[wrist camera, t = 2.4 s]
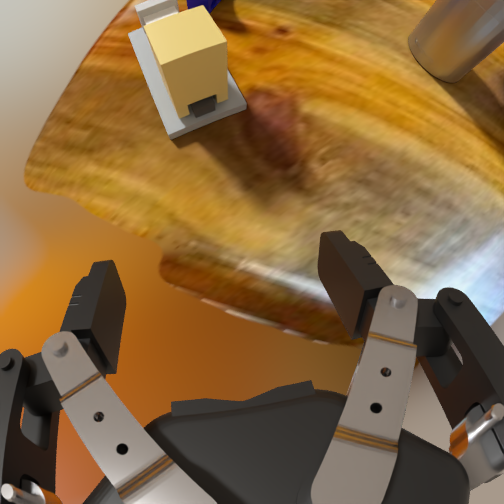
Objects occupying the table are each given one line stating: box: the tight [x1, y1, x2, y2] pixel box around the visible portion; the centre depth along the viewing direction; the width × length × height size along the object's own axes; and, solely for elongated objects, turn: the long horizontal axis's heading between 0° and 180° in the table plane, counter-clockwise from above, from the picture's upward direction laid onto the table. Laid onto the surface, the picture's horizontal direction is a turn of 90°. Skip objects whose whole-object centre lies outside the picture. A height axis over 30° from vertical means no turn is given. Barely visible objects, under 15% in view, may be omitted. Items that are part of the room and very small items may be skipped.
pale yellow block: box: [144, 5, 228, 119], centre depth 23 cm, size 5×5×9 cm
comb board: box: [128, 0, 247, 140], centre depth 26 cm, size 8×16×5 cm, turn 25°
